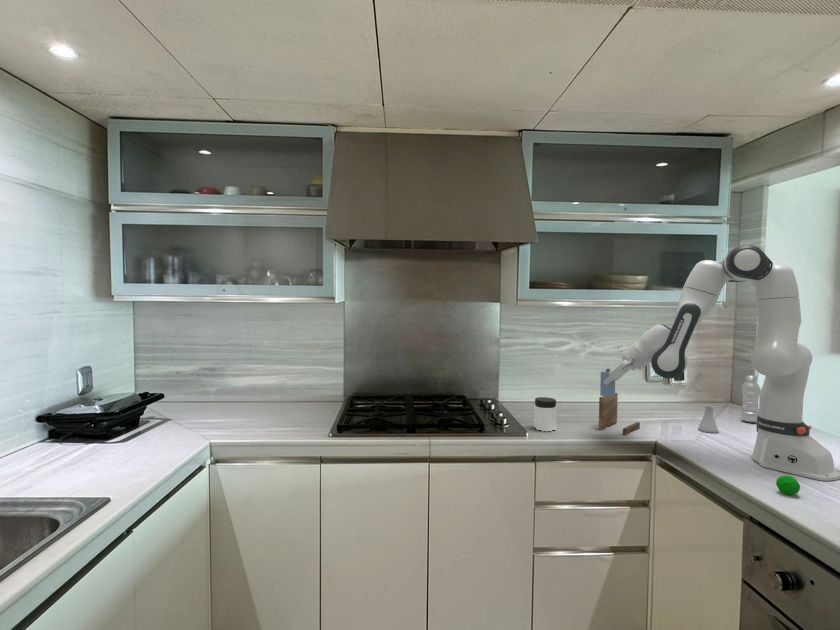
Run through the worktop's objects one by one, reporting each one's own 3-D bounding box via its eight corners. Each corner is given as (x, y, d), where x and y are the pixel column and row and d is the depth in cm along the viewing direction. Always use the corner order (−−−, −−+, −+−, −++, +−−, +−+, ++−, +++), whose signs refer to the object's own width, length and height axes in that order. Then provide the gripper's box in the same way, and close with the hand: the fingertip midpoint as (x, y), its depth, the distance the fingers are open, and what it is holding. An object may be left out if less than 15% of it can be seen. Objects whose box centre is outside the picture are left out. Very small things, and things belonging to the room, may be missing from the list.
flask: (722, 434, 178) (723, 408, 178) (701, 432, 180) (702, 407, 179) (714, 429, 185) (715, 404, 185) (694, 427, 187) (695, 403, 186)
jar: (558, 432, 178) (559, 401, 178) (538, 432, 178) (538, 401, 178) (551, 425, 187) (552, 396, 187) (531, 425, 187) (532, 396, 186)
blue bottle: (615, 394, 174) (615, 368, 174) (613, 396, 170) (613, 370, 169) (602, 393, 176) (602, 367, 176) (600, 395, 172) (600, 369, 172)
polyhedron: (802, 499, 120) (802, 481, 120) (778, 495, 122) (779, 478, 122) (796, 492, 124) (796, 474, 124) (773, 488, 126) (774, 471, 126)
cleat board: (639, 428, 185) (640, 396, 184) (625, 435, 175) (626, 401, 174) (613, 423, 192) (614, 392, 192) (598, 429, 183) (599, 397, 182)
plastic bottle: (757, 425, 192) (759, 377, 191) (738, 421, 197) (740, 375, 196) (761, 422, 196) (763, 376, 195) (742, 419, 201) (744, 374, 200)
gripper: (638, 367, 158) (608, 393, 163) (643, 361, 175) (616, 384, 181) (624, 354, 160) (595, 379, 165) (631, 349, 178) (604, 372, 183)
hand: (606, 382), depth 173 cm, fingers closed on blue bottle, 5 cm apart
